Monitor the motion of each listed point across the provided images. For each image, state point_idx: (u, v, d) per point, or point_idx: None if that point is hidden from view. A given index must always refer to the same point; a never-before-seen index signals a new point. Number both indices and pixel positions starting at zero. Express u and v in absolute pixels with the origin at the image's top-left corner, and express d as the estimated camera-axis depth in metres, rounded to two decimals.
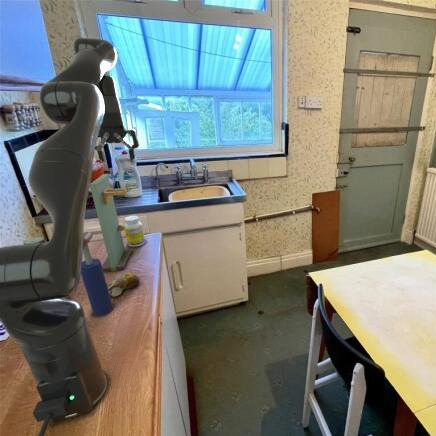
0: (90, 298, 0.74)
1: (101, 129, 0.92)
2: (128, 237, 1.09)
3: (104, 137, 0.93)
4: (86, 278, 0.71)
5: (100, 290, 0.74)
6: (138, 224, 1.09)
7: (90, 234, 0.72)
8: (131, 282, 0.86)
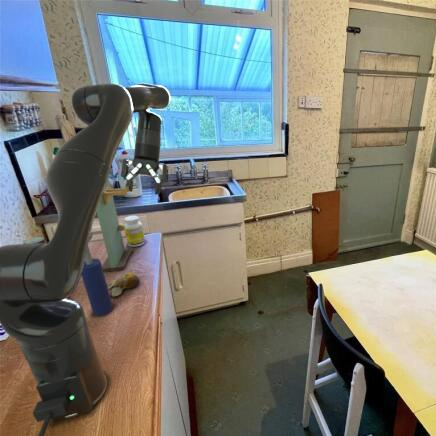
0: (90, 298, 0.74)
1: (136, 160, 0.95)
2: (128, 237, 1.09)
3: (136, 167, 0.94)
4: (86, 278, 0.71)
5: (100, 290, 0.74)
6: (138, 224, 1.09)
7: (90, 234, 0.72)
8: (131, 282, 0.86)
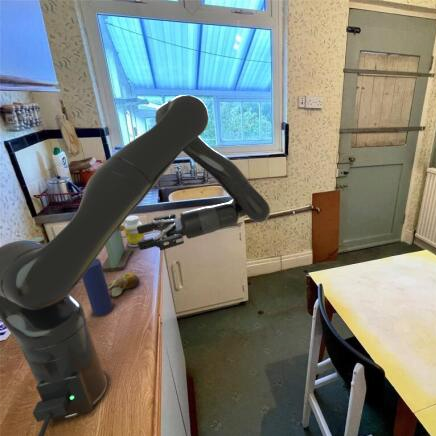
0: (90, 298, 0.74)
1: (177, 219, 0.80)
2: (128, 237, 1.09)
3: (168, 220, 0.78)
4: (86, 278, 0.71)
5: (100, 290, 0.74)
6: (138, 224, 1.09)
7: None
8: (131, 282, 0.86)
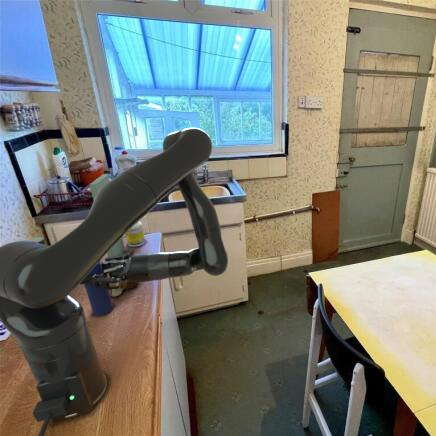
0: (90, 298, 0.74)
1: (131, 260, 0.78)
2: (128, 237, 1.09)
3: (120, 260, 0.76)
4: None
5: (100, 290, 0.74)
6: (138, 224, 1.09)
7: None
8: (131, 282, 0.86)
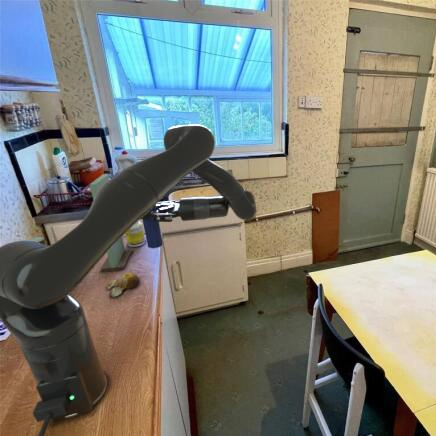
0: (147, 232, 0.92)
1: (178, 204, 0.95)
2: (128, 237, 1.09)
3: (169, 203, 0.94)
4: None
5: (155, 226, 0.92)
6: (138, 224, 1.09)
7: None
8: (131, 282, 0.86)
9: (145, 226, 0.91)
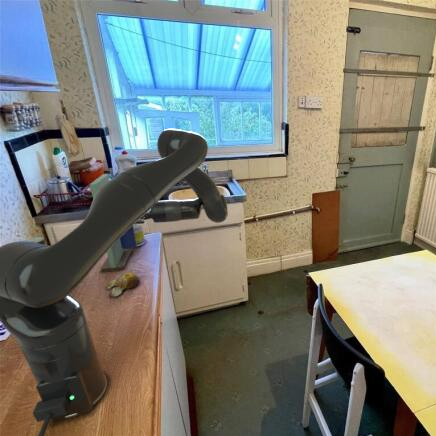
0: None
1: None
2: None
3: None
4: None
5: None
6: (138, 224, 1.09)
7: None
8: (131, 282, 0.86)
9: None
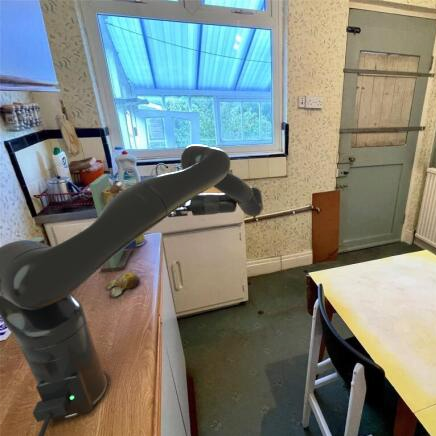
0: None
1: None
2: None
3: None
4: None
5: None
6: None
7: (121, 183, 0.94)
8: (131, 282, 0.86)
9: None
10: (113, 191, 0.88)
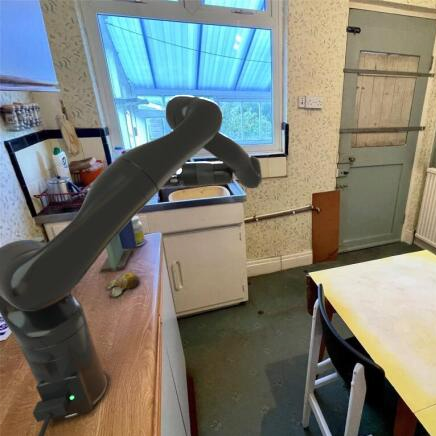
0: (120, 234, 0.96)
1: (180, 169, 0.91)
2: None
3: None
4: None
5: (128, 227, 0.95)
6: (138, 224, 1.09)
7: None
8: (131, 282, 0.86)
9: None
10: None
